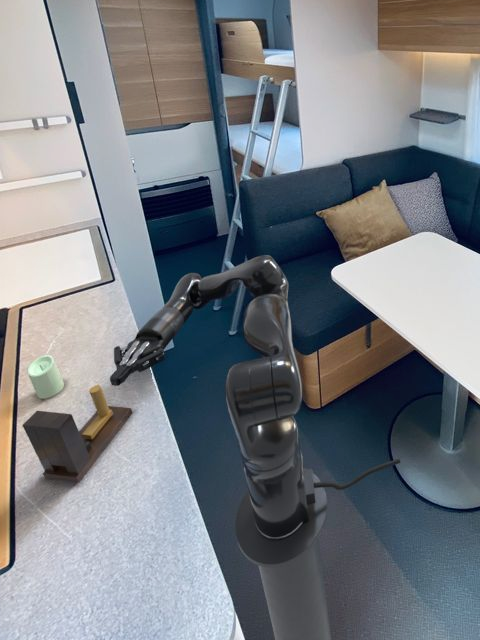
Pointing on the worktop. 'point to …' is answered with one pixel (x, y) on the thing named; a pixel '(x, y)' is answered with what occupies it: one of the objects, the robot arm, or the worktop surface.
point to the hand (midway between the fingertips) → (113, 382)
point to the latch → (70, 442)
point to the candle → (45, 377)
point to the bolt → (101, 410)
